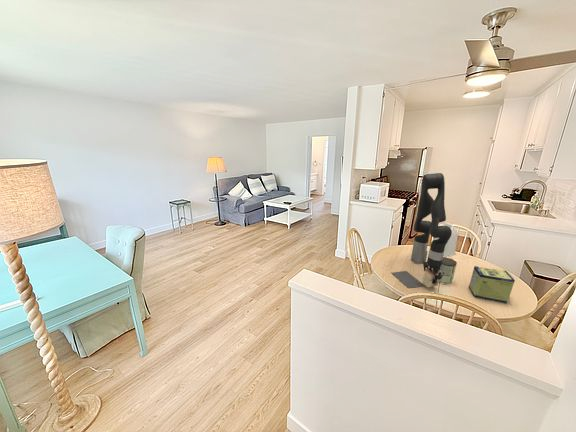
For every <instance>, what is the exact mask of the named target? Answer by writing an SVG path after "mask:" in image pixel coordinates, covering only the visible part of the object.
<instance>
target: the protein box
mask: <svg viewBox="0 0 576 432" xmlns="http://www.w3.org/2000/svg"><path fill="white" fill-rule="evenodd" d="M515 281H516V280H515V279H514V277H513V276H512V275H511V274H510V273H509V272H508V271H507V270H504V269H498V268H491V267H482V266H477V265H474V267H473V269H472V274H471V277H470V281H469V286H468V289H469V290H470V292H471V294H472V296H473V297H474V298H477V299H482V300H488V301H493V302H497V303H498V302H499V303H502V302H503V304H508V302H509V300H510V297H511V293H512V289H513V287H514V284H515Z"/></svg>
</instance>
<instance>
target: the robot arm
mask: <svg viewBox="0 0 576 432" xmlns="http://www.w3.org/2000/svg"><path fill="white" fill-rule="evenodd" d="M421 179H422V180H421V186H420V187H421V189H420V196H419V200H418V205H417V210H416V211H417V213H416V216H415V217H416V218H415V219H414V220H415V221H414V224H413V230H414V231H415V233H420V234H418V235H415V236H414V239H413V244H412V249H411V257H410V261H411V262H412V263H414V264H418V265H422V264H423V272H425V269H428V270H431V271H432V272H433V281H432V283H433V284H436V283H437V280H440V279H441V278H442V276H443V275H444V272H441V270H440V267H441V265H442V261H443V256H444V249H445V245H446V244H447V242H448V240H449V239H450V237H451V234H452V230H451V228H450V227H448V226H442V225H439V223H445V222H446V220H447V215H446V208H445V194H446V193H445V190H446V189H445V188H446V187H445V186H446V185H445V183H446V181H445V176H444V174H443V173H441V172H437V173H435V172H434V173H427V174H424V175H423V176H422V178H421ZM433 189H437V194H436V196H435V199H433V197H432V195H430V192H429V190H433ZM428 216H431V221H430V220H423V219H425V218H426V217H428ZM430 236H431V237H432V238H439V239H437V240H434V239H433V240H432V241H431V242H430V246H429V240H430ZM428 246H429V247H430V248H429V251H428ZM435 273H437V274H435ZM435 275H436V277H435Z"/></svg>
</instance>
